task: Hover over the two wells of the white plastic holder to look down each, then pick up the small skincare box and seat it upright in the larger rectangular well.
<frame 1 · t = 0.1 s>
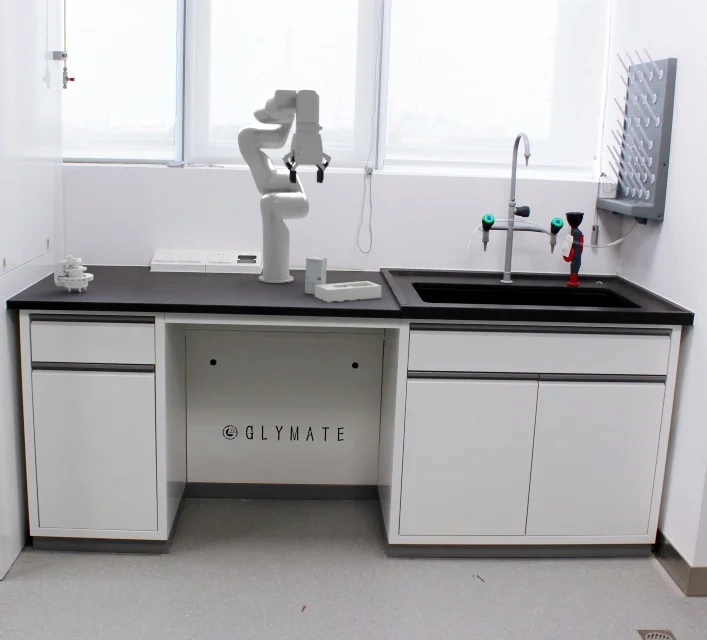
hand: (306, 182, 259), 37 cm above the countertop, tool pointing down, fingers open, 9 cm apart
mechanical part: (75, 292, 259), on the countertop
holder: (348, 297, 262), on the countertop
skincare box: (315, 293, 267), on the countertop
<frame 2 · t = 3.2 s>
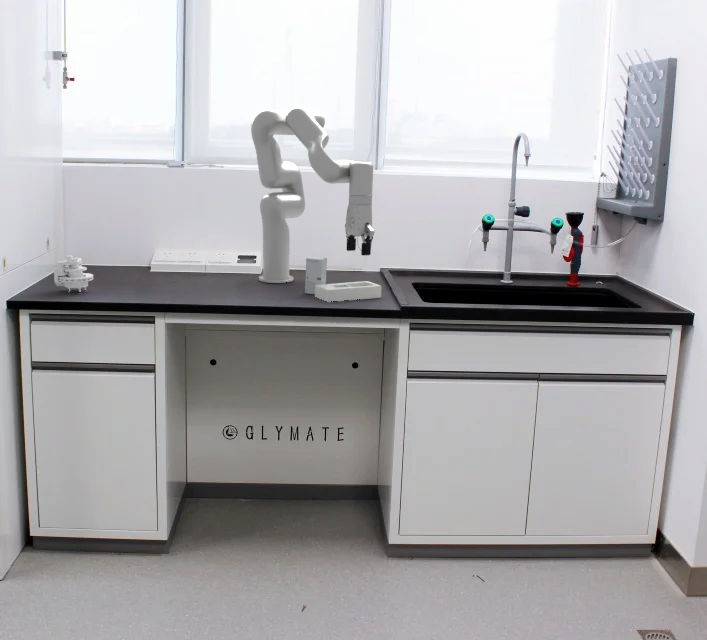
hand: (358, 252, 261), 15 cm above the countertop, tool pointing down, fingers open, 9 cm apart
nothing on the countertop moved.
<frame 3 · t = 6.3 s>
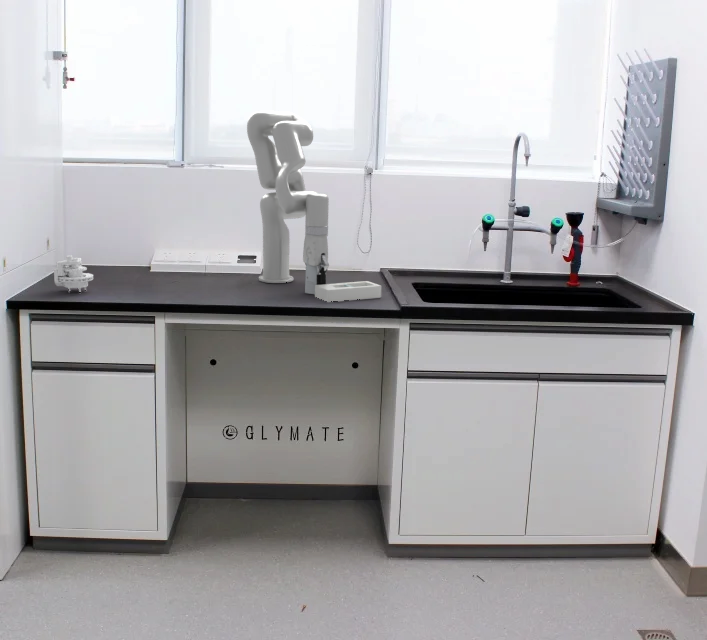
hand: (315, 283, 266), 3 cm above the countertop, tool pointing down, fingers closed on skincare box, 7 cm apart
skincare box: (315, 293, 267), on the countertop, touching gripper
everything else where it was.
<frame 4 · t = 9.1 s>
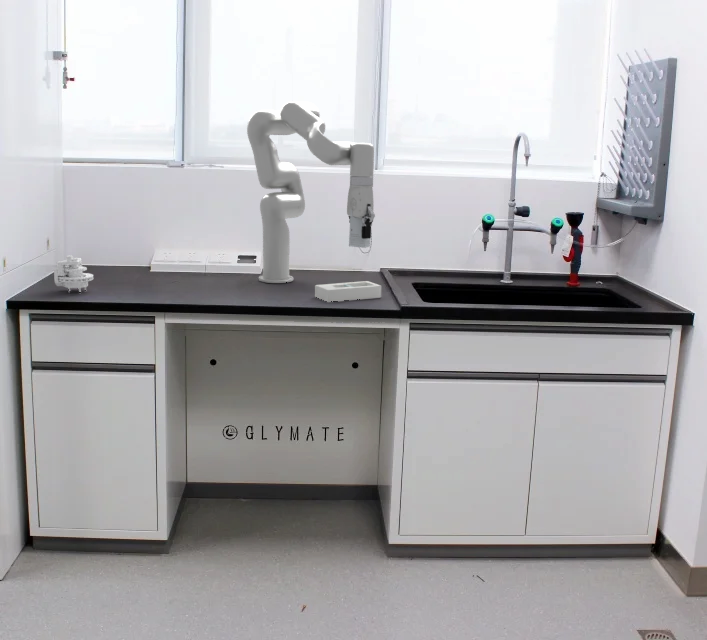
hand: (360, 236, 259), 20 cm above the countertop, tool pointing down, fingers closed on skincare box, 7 cm apart
skincare box: (359, 247, 260), point 16 cm above the countertop, touching gripper
everything else where it was.
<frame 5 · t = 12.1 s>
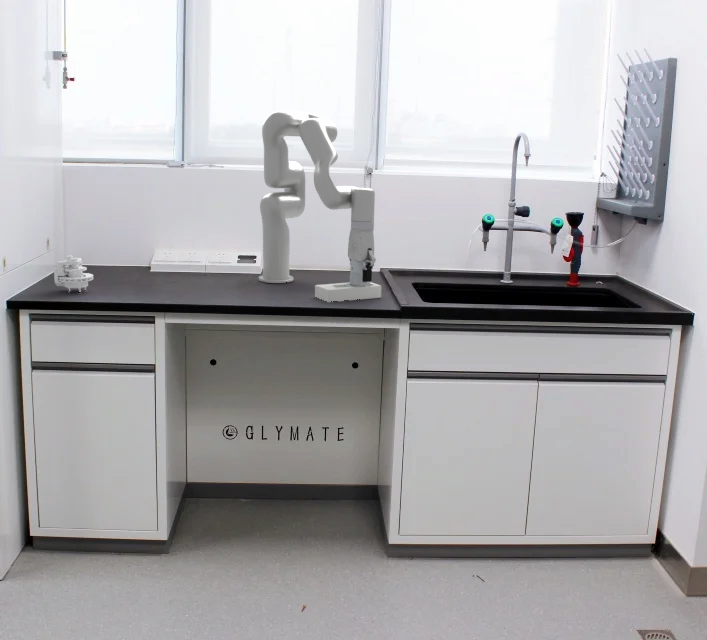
hand: (360, 279, 263), 6 cm above the countertop, tool pointing down, fingers closed on skincare box, 7 cm apart
skincare box: (360, 285, 263), point 4 cm above the countertop, touching gripper, holder
everything else where it was.
when the fingers open (6 cm above the countertop, at t = 12.5 s): skincare box stays where it is, resting on holder.
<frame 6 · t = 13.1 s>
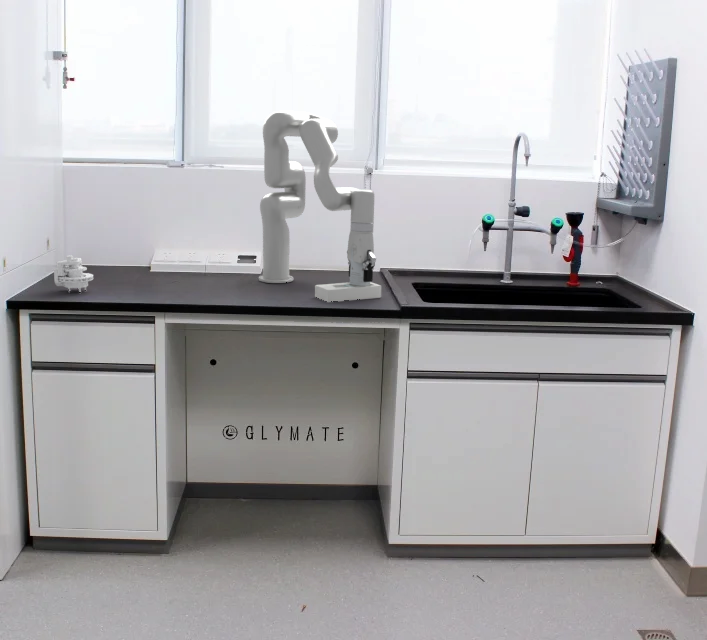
hand: (360, 279, 263), 6 cm above the countertop, tool pointing down, fingers open, 9 cm apart
skincare box: (360, 285, 263), point 4 cm above the countertop, touching holder
everything else where it was.
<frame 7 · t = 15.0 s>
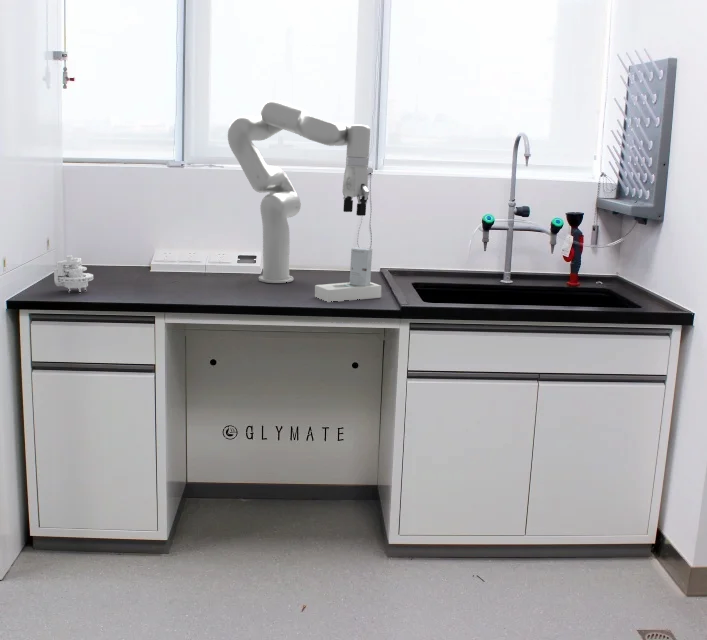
hand: (354, 213, 269), 26 cm above the countertop, tool pointing down, fingers open, 9 cm apart
nothing on the countertop moved.
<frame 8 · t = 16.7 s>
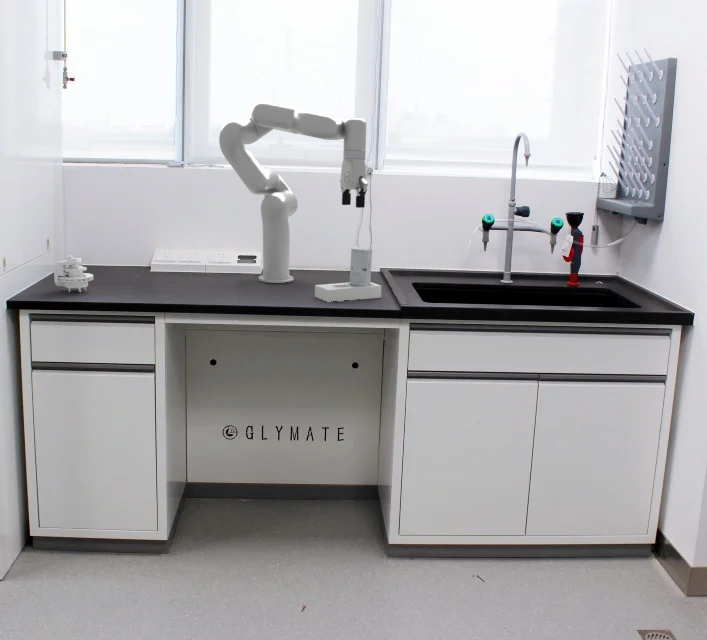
hand: (353, 206, 274), 28 cm above the countertop, tool pointing down, fingers open, 9 cm apart
nothing on the countertop moved.
at the end: skincare box 0.1 cm from the target spot on the holder, point 3.8 cm above the holder's base; skincare box tilted 0°; the gripper is holding nothing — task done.
